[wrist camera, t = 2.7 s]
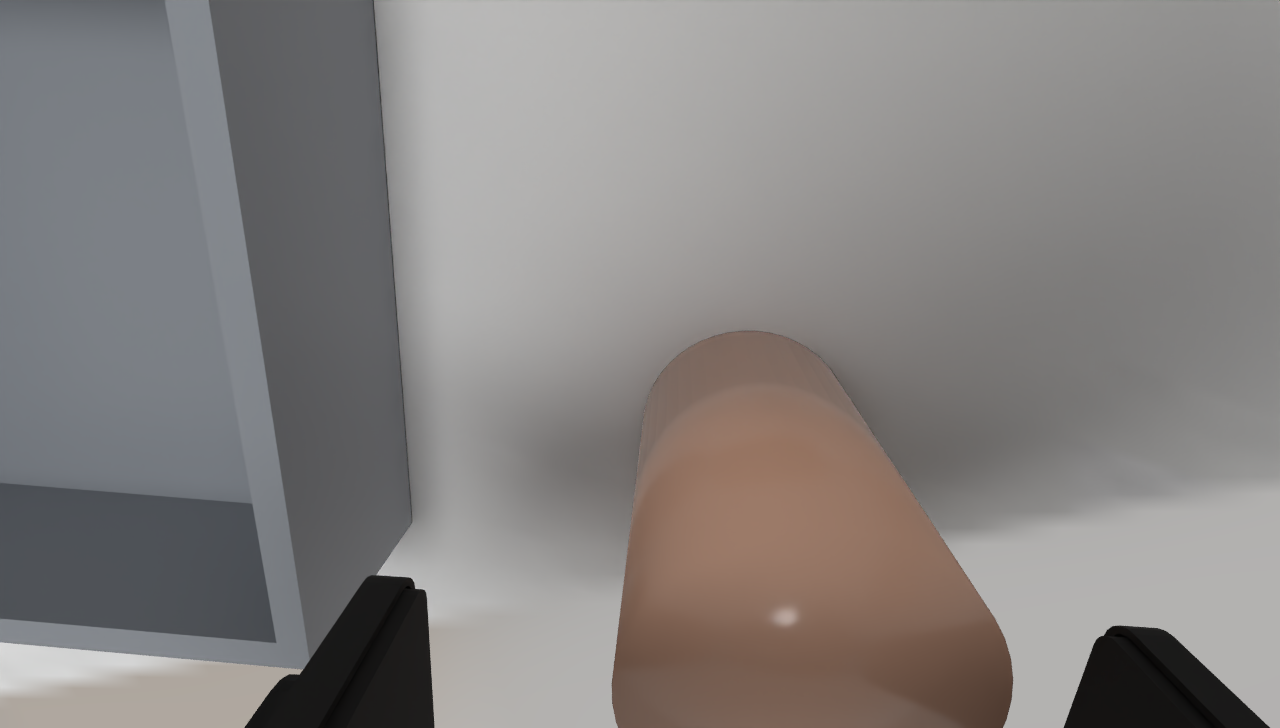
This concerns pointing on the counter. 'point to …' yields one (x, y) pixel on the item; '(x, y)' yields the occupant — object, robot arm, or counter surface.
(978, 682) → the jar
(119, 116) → the bin
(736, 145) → the counter surface
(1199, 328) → the counter surface
